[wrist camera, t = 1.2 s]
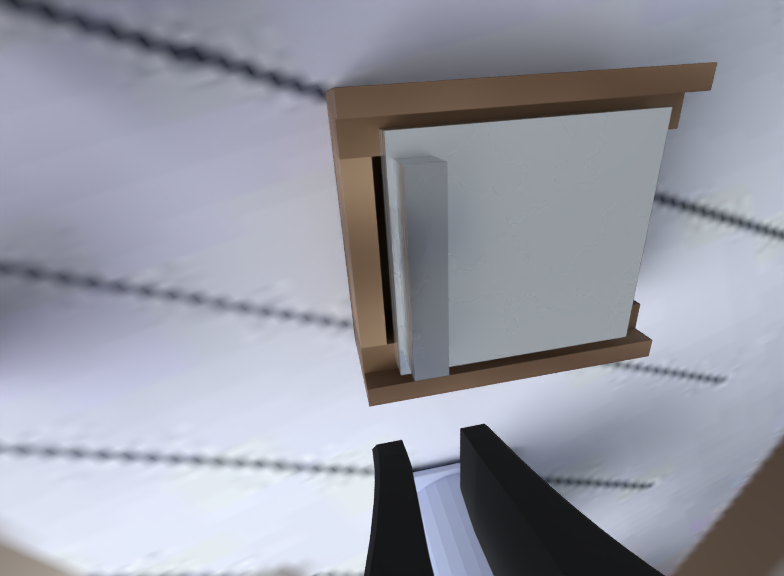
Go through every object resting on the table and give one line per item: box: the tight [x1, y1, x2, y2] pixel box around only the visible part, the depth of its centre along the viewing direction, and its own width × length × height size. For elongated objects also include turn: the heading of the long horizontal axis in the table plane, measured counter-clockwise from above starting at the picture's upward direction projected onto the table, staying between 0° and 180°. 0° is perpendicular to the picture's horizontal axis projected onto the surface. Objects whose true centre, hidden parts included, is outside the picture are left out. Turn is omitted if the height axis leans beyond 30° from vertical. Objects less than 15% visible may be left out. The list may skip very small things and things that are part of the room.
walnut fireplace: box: [326, 62, 717, 407], centre depth 17 cm, size 11×12×5 cm
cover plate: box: [379, 107, 672, 381], centre depth 14 cm, size 9×9×2 cm
